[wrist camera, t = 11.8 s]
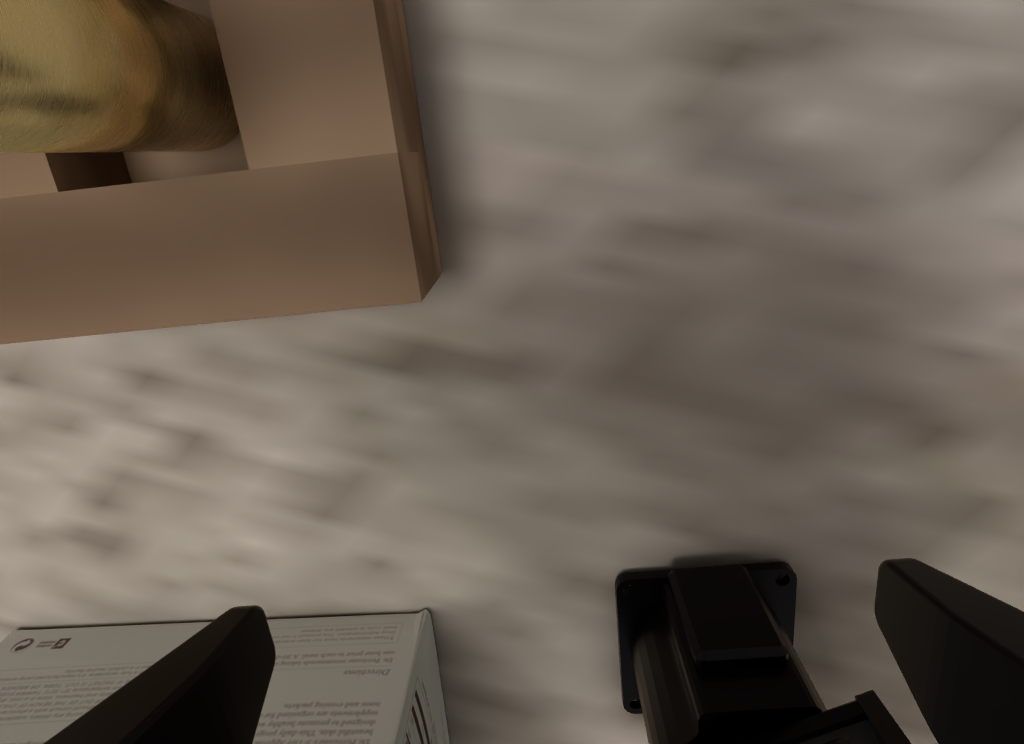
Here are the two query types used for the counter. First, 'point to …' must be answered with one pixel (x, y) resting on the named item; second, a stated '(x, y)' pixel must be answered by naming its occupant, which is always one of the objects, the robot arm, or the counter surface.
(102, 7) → the brass pin
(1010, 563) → the counter surface
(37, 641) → the supplement box
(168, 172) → the walnut socket block
